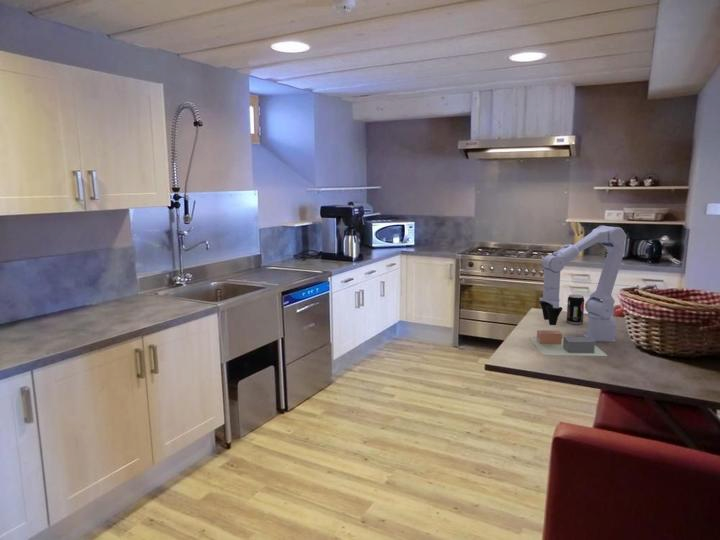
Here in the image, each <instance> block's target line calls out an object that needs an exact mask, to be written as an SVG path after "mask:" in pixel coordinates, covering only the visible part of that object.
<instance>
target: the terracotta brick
mask: <svg viewBox="0 0 720 540" xmlns="http://www.w3.org/2000/svg"><path fill="white" fill-rule="evenodd" d="M536 338H537V341H538V342H539V344H561V343H562V339H563V334H562V333H561V331H560V330H544V329H543V330H542V329H541V330H539V329H538V330H536Z"/></svg>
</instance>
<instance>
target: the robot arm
mask: <svg viewBox="0 0 720 540" xmlns="http://www.w3.org/2000/svg"><path fill="white" fill-rule="evenodd" d="M626 238H627V234H626V232H625V231H624V229H623V228H621V227H620V226H607V225H598V226H597V227H596V228H594V229H592V231H590V233H588V234H587V235H586V236H584V237H583V238H581V239H580V240H579V241H577V242H576V243H574V244H571V243H568V244H566V243H565V244H564V245H563V247H562V248H560V249H559V250H557V251H554V252H553V253H552V254H547V255H545V256H544V257H543V259H542V261H541V262H540V265H541V267H542V269H543V284H542V285H543V288H542V289H543V290H542V291H543V293H542V297H539V304H540V306H541V310H542V315H543V319H544V320H545V321H546V320H548V324H549V326H556V325H557V322H558V319H559V316H560V313H561V312H562V311H563V307H562V306H560V288H561V287H560V286H561V285H560V284H561V272H562V271H563V269H564V267H565V266H566V265H567V264H568V263H570V262H572V261H573V260H575V259H576V258H578V257H579V255H580V252H583V251H584V250H586V249H587V248H589V247H592V246H593V245H595V244H597V243H599V244H600V245H602V246H603V247H604V248H605V250H606V251H607V253H606V257H605V260H604V263H603V265H602V266H603V267H602V269H601V273H600V277H599V279H598V282H597V286H596V289H595V291H593V292H592V293H590V295H589V297H588V299H587V300H586V302H584V310H585V311H586V312H587V315H588V319H587V320H588V321H587V323H588V324H587V334H583V337H589V338H591V339H592V340H593V341H594V342H616V341H617V340H616V335H617V334H616V333H617V322H616V319H615V317H613V315H614V313H615V306H614V305H615V299H614V298H613V295H612V293H613V289H614V286H615V283H616V280H617V277H618V273H619V271H620V267H621V264H622V261H623V257H624V254H625V251H626V250H625V249H626V245H625V242H626Z"/></svg>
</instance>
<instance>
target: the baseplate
mask: <svg viewBox="0 0 720 540" xmlns="http://www.w3.org/2000/svg"><path fill="white" fill-rule="evenodd" d="M529 338H530V337H529ZM530 340H531V342H532V344H534V346H535V347H536V348H537V350H538V351H539V352H540V353H541V354H542V355H543V356H586V357H589V356H591V357H594V356H595V357H599V356H600V357H602V356H603V357H608V355H607V354H606V353H605V352H604V351H602V349H600V348H599V347H598V346H597V345H596V344H595V348H594V353H569V352H567V351H566V350H565V349H564V348H563V340H564V338H562V343H561V344H539V342H538V341H537V337H536V338H535V337H532V338H530Z"/></svg>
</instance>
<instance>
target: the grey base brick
mask: <svg viewBox="0 0 720 540" xmlns="http://www.w3.org/2000/svg"><path fill="white" fill-rule="evenodd" d="M563 339H564V340H563V348H564V349H565V350H566V351H567V352H569V353H594V348H595V345H596V341H593V340H592V339H591V338H589V337H585V336H563Z"/></svg>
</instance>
